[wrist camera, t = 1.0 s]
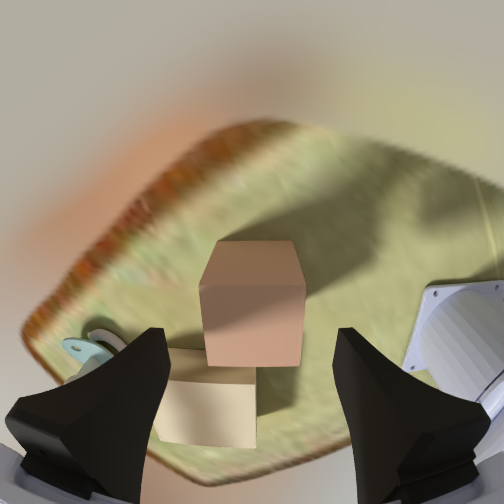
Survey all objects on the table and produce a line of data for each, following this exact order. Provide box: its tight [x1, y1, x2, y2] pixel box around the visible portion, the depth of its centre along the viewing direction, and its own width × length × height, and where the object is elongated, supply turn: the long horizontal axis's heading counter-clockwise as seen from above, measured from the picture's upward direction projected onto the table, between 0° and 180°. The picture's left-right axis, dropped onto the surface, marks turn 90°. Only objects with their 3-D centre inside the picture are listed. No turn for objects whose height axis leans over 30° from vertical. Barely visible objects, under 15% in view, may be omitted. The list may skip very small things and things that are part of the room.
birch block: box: [153, 348, 257, 448], centre depth 21 cm, size 8×8×4 cm
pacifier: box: [62, 329, 127, 385], centre depth 19 cm, size 7×6×6 cm
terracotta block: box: [198, 240, 307, 367], centre depth 16 cm, size 4×4×6 cm
